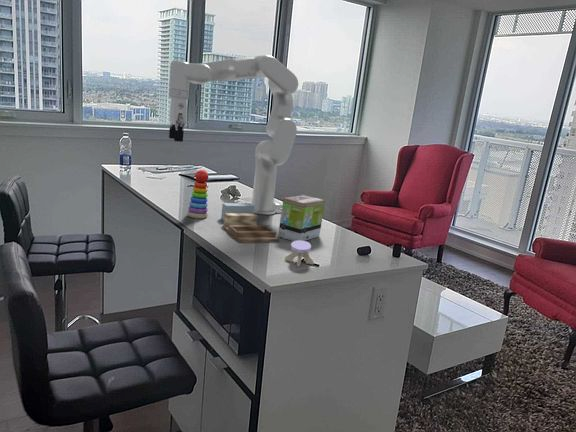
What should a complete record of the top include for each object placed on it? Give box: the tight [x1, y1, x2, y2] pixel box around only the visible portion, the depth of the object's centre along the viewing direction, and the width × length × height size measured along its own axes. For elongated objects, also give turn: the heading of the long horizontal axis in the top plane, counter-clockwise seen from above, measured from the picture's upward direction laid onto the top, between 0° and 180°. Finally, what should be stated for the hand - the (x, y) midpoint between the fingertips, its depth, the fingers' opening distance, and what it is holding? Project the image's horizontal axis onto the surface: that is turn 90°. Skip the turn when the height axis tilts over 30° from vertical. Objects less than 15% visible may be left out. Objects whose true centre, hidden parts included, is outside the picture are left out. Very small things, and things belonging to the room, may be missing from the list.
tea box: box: [277, 194, 326, 242], centre depth 175 cm, size 15×10×15 cm, turn 148°
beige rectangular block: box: [223, 213, 258, 228], centre depth 180 cm, size 12×4×5 cm, turn 116°
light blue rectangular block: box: [220, 202, 255, 221], centre depth 190 cm, size 12×4×6 cm, turn 116°
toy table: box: [284, 240, 315, 267], centre depth 147 cm, size 10×9×6 cm
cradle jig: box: [224, 224, 281, 243], centre depth 170 cm, size 15×16×2 cm
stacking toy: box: [186, 169, 209, 219], centre depth 186 cm, size 8×8×19 cm
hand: (175, 139), depth 185 cm, fingers open, 9 cm apart
